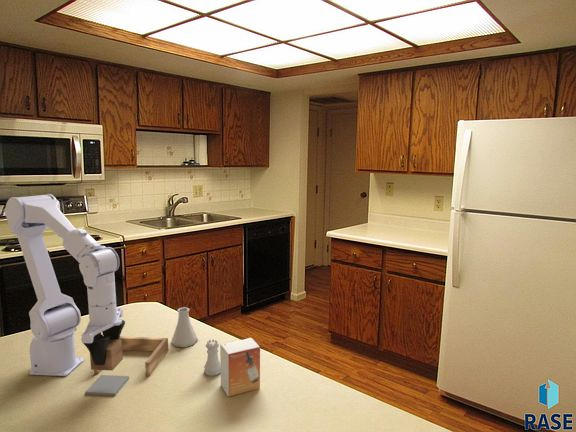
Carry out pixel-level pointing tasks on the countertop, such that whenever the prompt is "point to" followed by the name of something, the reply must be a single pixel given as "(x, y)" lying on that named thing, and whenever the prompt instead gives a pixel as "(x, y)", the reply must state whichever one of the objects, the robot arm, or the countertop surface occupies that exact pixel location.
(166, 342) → the oak bracket
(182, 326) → the flask
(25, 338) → the countertop surface
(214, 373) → the rook chess piece
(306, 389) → the countertop surface
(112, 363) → the walnut block
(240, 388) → the small box
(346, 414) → the countertop surface
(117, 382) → the slate coaster
